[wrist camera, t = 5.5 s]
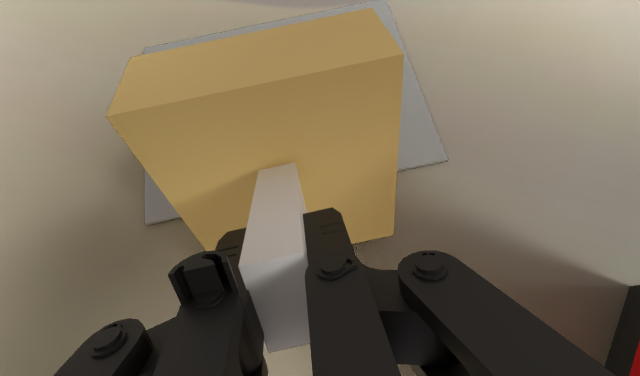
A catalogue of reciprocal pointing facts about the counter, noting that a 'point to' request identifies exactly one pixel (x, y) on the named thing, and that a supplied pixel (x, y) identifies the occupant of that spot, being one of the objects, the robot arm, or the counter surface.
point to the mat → (415, 119)
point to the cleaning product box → (627, 338)
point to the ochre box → (270, 121)
